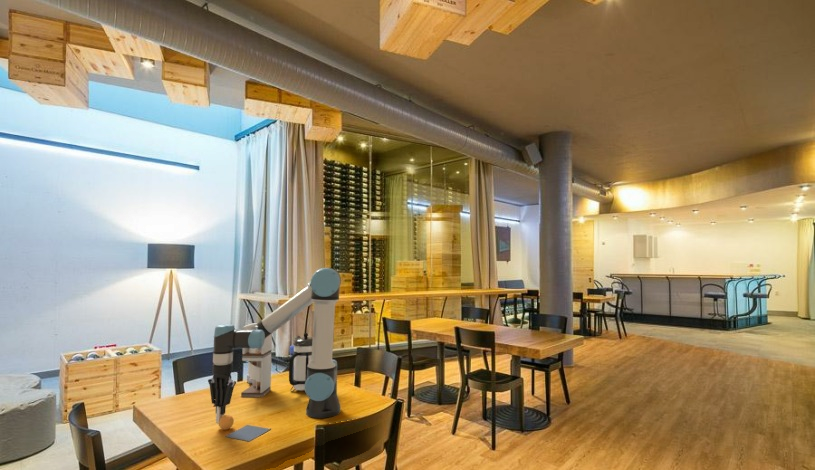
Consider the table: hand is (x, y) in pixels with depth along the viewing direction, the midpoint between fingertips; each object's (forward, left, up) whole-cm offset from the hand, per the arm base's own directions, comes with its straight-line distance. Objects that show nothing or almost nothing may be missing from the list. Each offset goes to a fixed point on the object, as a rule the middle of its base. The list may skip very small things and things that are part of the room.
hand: (219, 422), depth 163 cm
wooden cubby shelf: (+18, -41, -3) cm, 45 cm away
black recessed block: (+24, -23, -3) cm, 33 cm away
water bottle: (+14, -70, -3) cm, 72 cm away
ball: (-3, 0, 0) cm, 3 cm away
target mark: (-15, 0, -2) cm, 15 cm away
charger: (+33, -58, -3) cm, 67 cm away
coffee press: (-3, -53, -3) cm, 53 cm away
